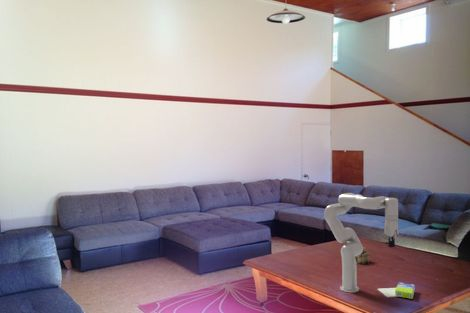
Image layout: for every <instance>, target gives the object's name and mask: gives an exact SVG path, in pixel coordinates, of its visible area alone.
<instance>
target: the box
mask: <svg viewBox="0 0 470 313" xmlns="http://www.w3.org/2000/svg"><path fill="white" fill-rule="evenodd" d="M395 288H396V290H395V296H399V297H401V298H404V299H405V298H406V299H414V294H415V289H416V288H415V284H413V283H406V282H399V281H398V283H397V285H396V287H395Z"/></svg>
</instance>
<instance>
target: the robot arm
mask: <svg viewBox="0 0 470 313" xmlns="http://www.w3.org/2000/svg"><path fill="white" fill-rule="evenodd" d="M337 201H338V203H337V202H336V203H332V204H329V205H327V206H326V207H325V209H324V212H323V215H324V216H323V217H324V220H325V221H326V223H327V225H328V226H329V228H330V230H331V232H332V234H333V235H334V238H335V239H336V241H337V242H338V243H339V244H343V243H345V244H343V246H342V247H341V248H340V255H341V268H342V269H341V271H342V273H341V274H342V276H341V279H342V283H341V284H342V285H340V286H339V290H340V291H343V292H345V293H350V294H351V293H358V292H359V291H360V288H359V287H358V285H357V284H358V282H357V279H358V277H357V276H358V275H357V274H358V272H357V271H358V270H357V267H358V266H357V265H358V264H356V260H355V256H357V255H360V254H361V253H362V252H363V247H364V246H363V244H362V242H361V240H360V239H359V237H358V235H357V233H356V231H355V230H354V229H353V228H351V227H344V225H343V223H342V222H341V219H339V218H338V216H342V215H344V214H346V213H348V212H349V210H350V209H351V208H353V207H354V208H361V209H364V210H379V209H384V219H385V220H384V228H383V230H384V231H383V232H384V233H383V234H384V235H385V236H386V237H387V239H388V247H390V248H395V247H396V242H395V241H396V240H397V238H398V237H399V222H398V221H399V200H398V198H396V197H387V196H383V195H382V196H375V197H366V196H363V195H362V194H360V193H359V194H358V193H357V194H356V193H353V192H346V193H345V192H344V193H342V194H340V195H339V196H338V199H337Z"/></svg>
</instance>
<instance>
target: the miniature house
mask: <svg viewBox="0 0 470 313" xmlns="http://www.w3.org/2000/svg"><path fill="white" fill-rule="evenodd" d="M366 249H367V248H366V247H364V246H363V252H362V253H361V254H360V255H357V256H355V260H356V264H357V265H365V264H370V253H369V252H367V250H366Z"/></svg>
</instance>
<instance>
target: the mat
mask: <svg viewBox="0 0 470 313" xmlns="http://www.w3.org/2000/svg"><path fill="white" fill-rule="evenodd" d="M396 288H397V287H385V288H380V287H379V288H377V291H379V292H380V293H382V294H383V296H385V297H386V298H398V297H399V296H395V290H396Z"/></svg>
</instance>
